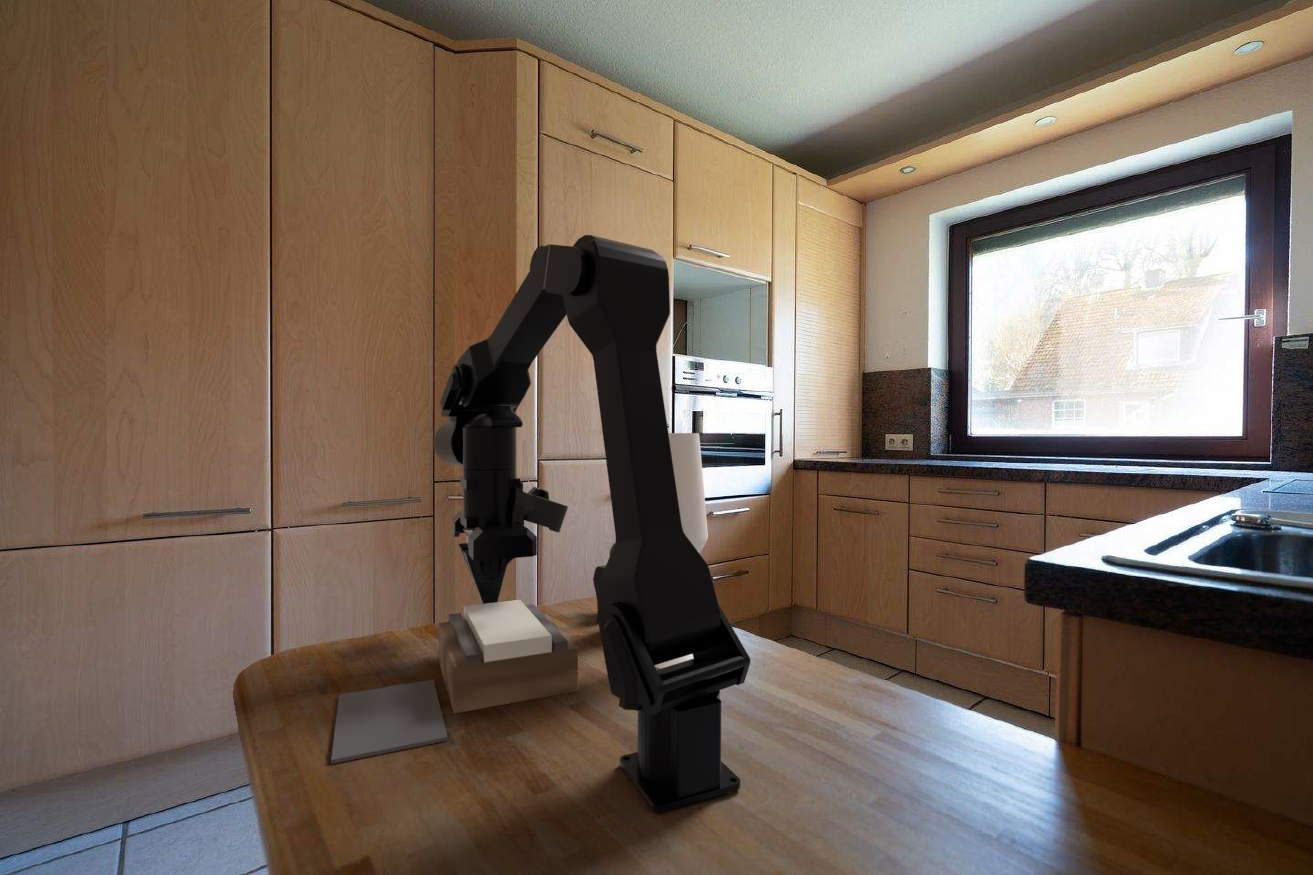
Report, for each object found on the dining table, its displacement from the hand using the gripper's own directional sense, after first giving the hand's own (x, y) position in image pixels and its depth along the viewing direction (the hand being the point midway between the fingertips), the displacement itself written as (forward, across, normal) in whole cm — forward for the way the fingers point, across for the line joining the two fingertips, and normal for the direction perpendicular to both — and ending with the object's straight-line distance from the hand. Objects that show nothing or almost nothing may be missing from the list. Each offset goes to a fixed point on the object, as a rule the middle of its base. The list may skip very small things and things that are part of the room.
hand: (490, 609), depth 67 cm
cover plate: (0, -8, 0) cm, 8 cm away
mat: (+4, -13, +11) cm, 18 cm away
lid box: (+4, -8, 0) cm, 9 cm away
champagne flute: (+5, -11, -17) cm, 21 cm away
